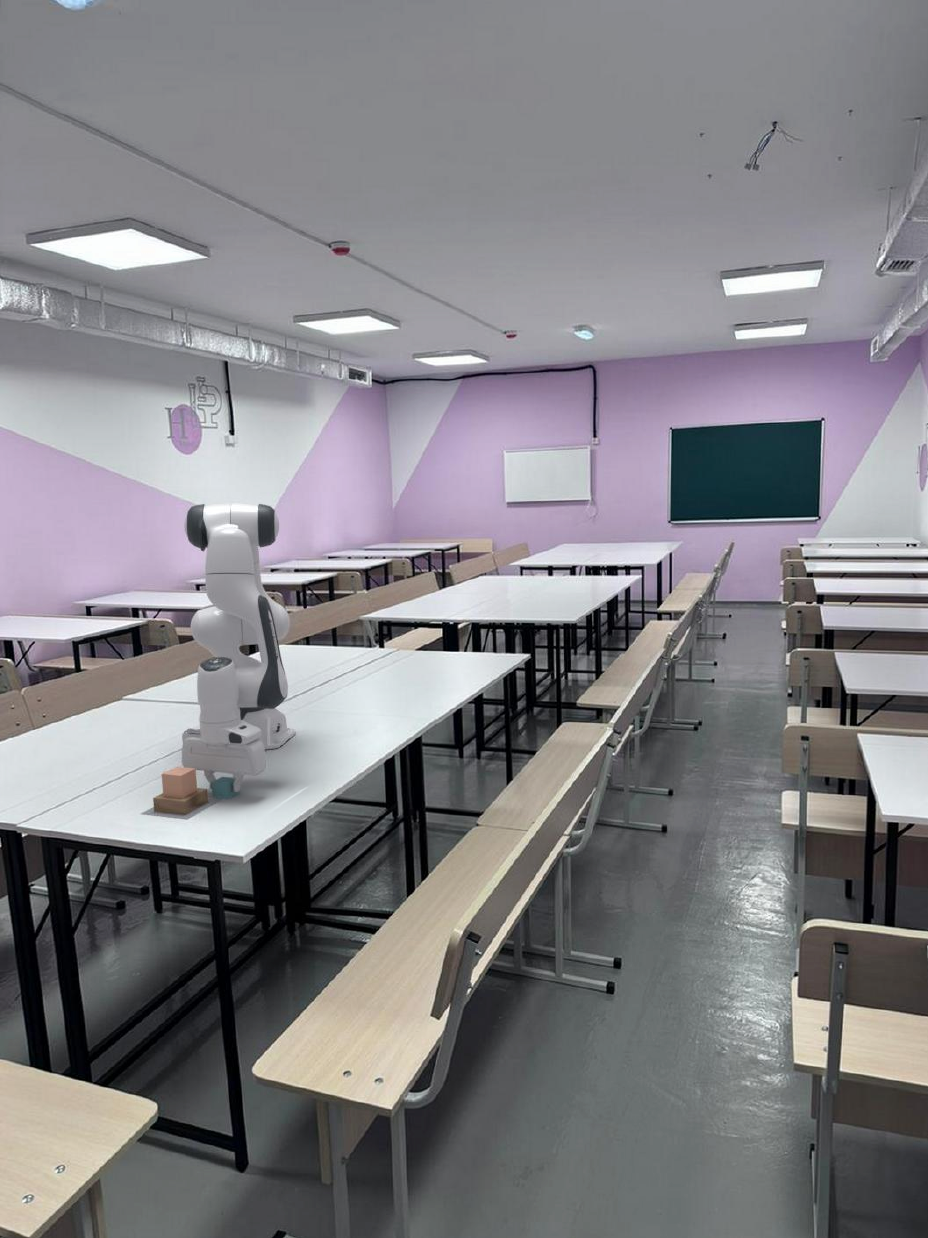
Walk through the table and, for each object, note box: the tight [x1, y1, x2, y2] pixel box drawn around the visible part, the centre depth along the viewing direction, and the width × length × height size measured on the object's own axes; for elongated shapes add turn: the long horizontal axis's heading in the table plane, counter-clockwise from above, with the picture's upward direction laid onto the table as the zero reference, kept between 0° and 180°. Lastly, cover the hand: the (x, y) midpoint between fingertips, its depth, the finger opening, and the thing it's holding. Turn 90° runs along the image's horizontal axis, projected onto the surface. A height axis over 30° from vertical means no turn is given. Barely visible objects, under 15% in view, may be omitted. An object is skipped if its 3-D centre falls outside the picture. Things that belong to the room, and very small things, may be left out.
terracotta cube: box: [161, 766, 198, 798], centre depth 182 cm, size 5×5×5 cm
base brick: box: [152, 787, 209, 815], centre depth 183 cm, size 8×8×3 cm
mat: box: [140, 797, 222, 820], centre depth 183 cm, size 12×12×1 cm
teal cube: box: [211, 776, 239, 799], centre depth 190 cm, size 4×4×4 cm
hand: (225, 790), depth 190 cm, fingers closed on teal cube, 4 cm apart
